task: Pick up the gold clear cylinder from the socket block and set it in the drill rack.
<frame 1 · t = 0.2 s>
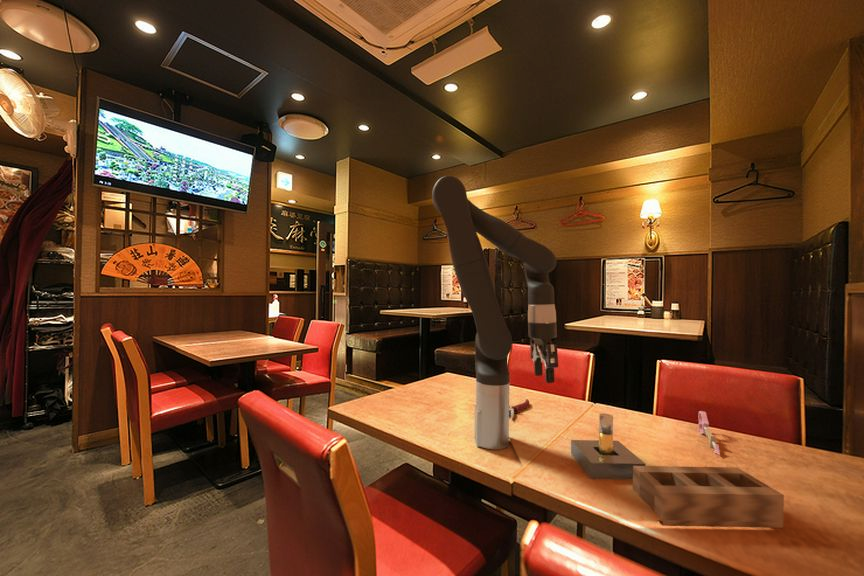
hand: (544, 378, 99), 18 cm above the table, tool pointing down, fingers open, 8 cm apart
drill rack: (702, 509, 71), on the table
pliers: (507, 411, 128), on the table
decorative key: (709, 444, 101), on the table
socket block: (605, 469, 86), on the table
gold clear cylinder: (605, 465, 86), point 1 cm above the table, touching socket block
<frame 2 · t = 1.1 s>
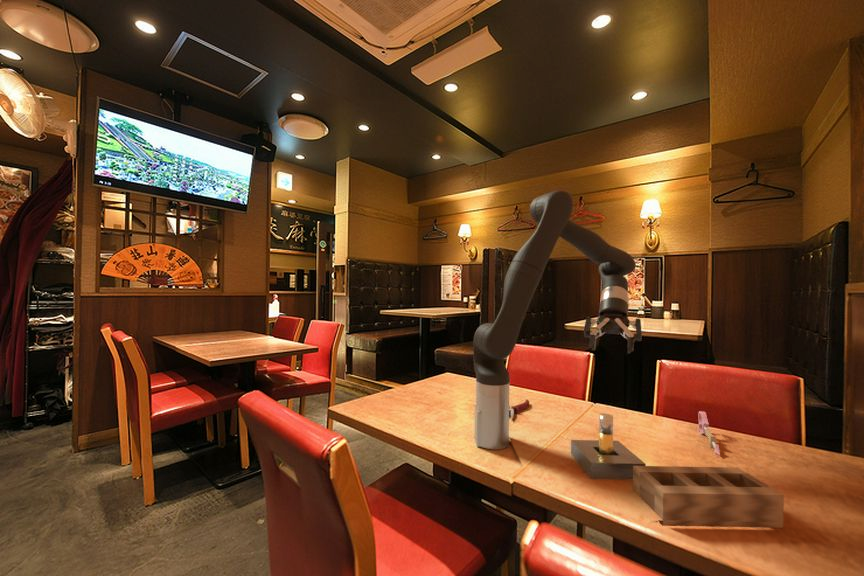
hand: (610, 350, 95), 27 cm above the table, tool tilted 45°, fingers open, 8 cm apart
nothing on the table moved.
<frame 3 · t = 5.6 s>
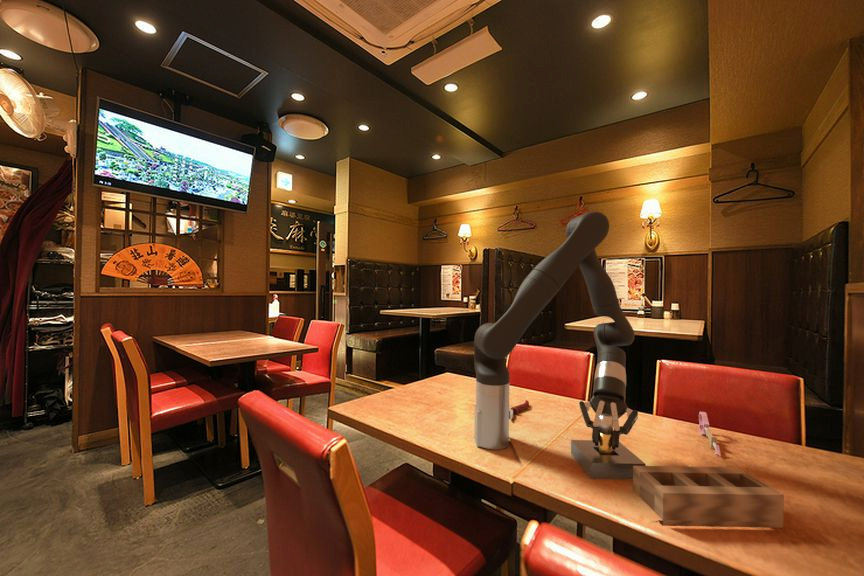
hand: (605, 446, 84), 6 cm above the table, tool tilted 45°, fingers closed on gold clear cylinder, 3 cm apart
gold clear cylinder: (605, 465, 86), point 1 cm above the table, touching gripper, socket block
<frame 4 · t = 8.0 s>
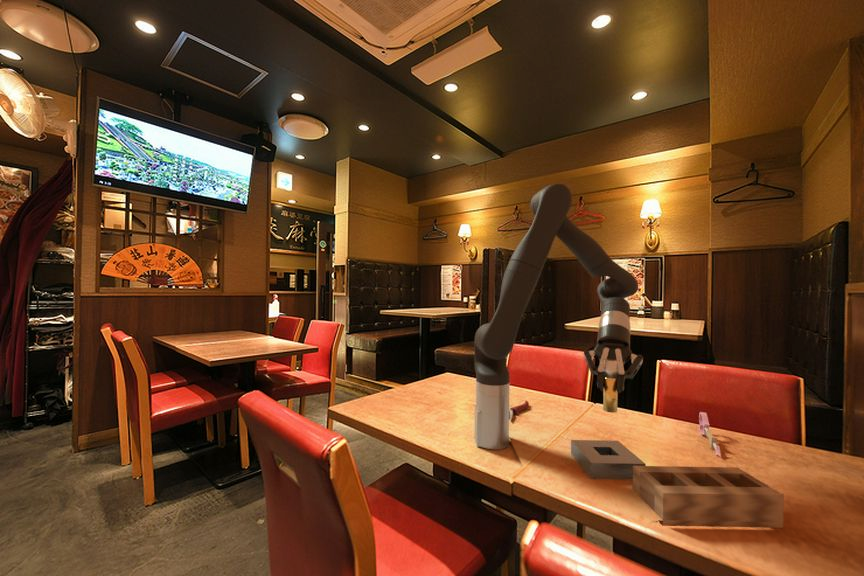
hand: (610, 389, 83), 20 cm above the table, tool tilted 45°, fingers closed on gold clear cylinder, 3 cm apart
gold clear cylinder: (610, 410, 85), point 14 cm above the table, touching gripper
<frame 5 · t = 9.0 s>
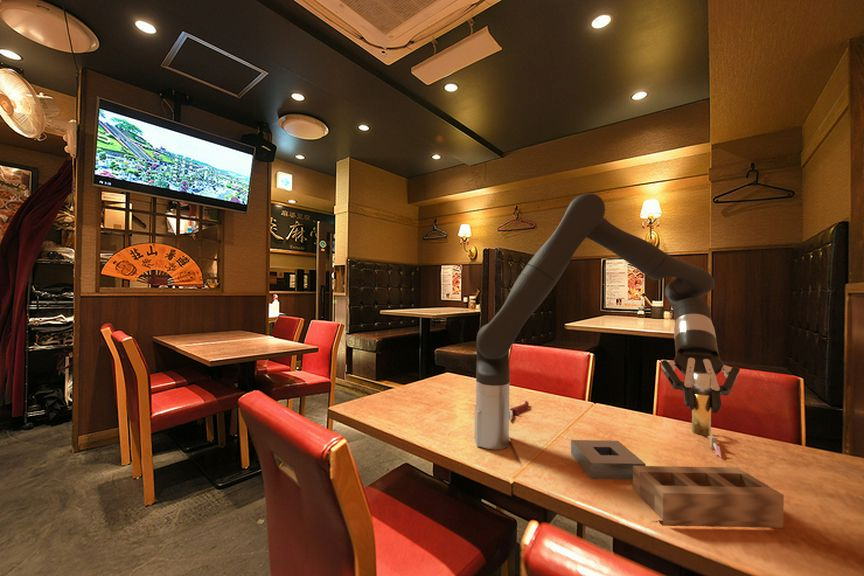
hand: (703, 409, 69), 20 cm above the table, tool tilted 45°, fingers closed on gold clear cylinder, 3 cm apart
gold clear cylinder: (701, 433, 71), point 15 cm above the table, touching gripper
when the fingers open (8 cm above the table, at t = 12.2 s): gold clear cylinder drops 2 cm, resting on drill rack.
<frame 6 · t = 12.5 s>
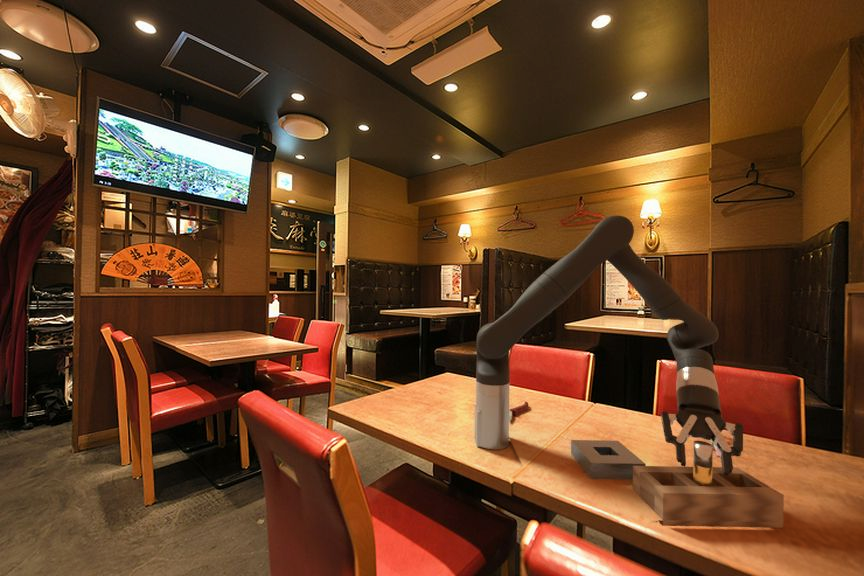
hand: (704, 468, 69), 9 cm above the table, tool tilted 45°, fingers open, 6 cm apart
gold clear cylinder: (702, 503, 71), point 1 cm above the table, touching drill rack
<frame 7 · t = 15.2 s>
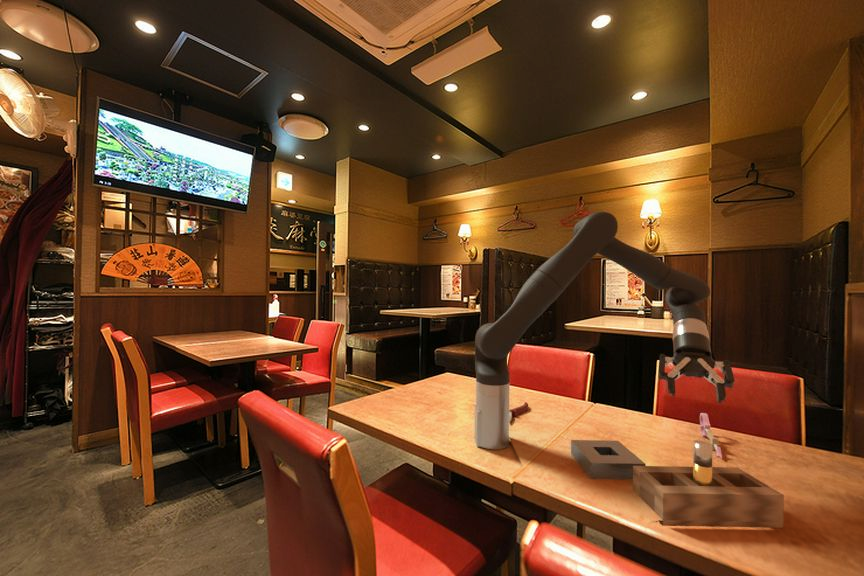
hand: (696, 397, 80), 19 cm above the table, tool tilted 45°, fingers open, 8 cm apart
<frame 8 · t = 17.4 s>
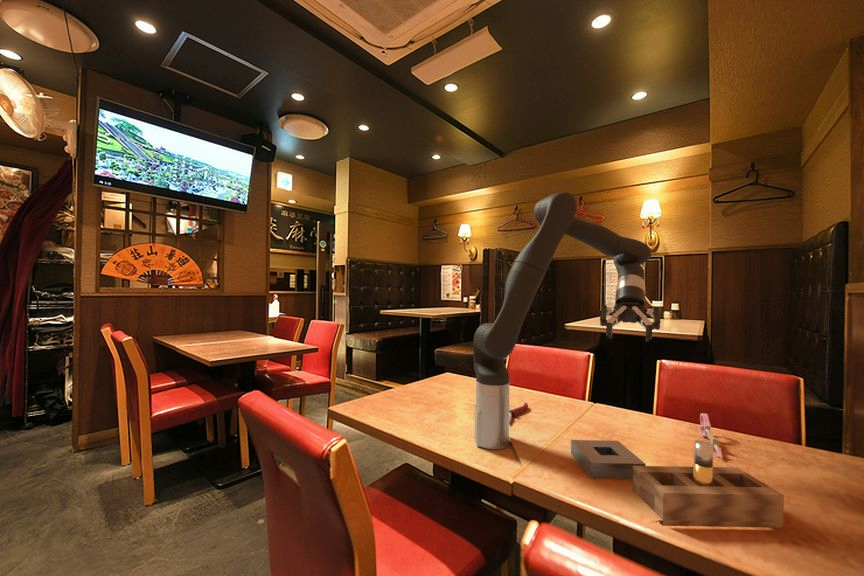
hand: (628, 338, 93), 31 cm above the table, tool tilted 45°, fingers open, 8 cm apart
at the end: gold clear cylinder 0.1 cm off-centre on the drill rack, point 1.0 cm above the drill rack's base; gold clear cylinder tilted 0°; the gripper is holding nothing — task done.
